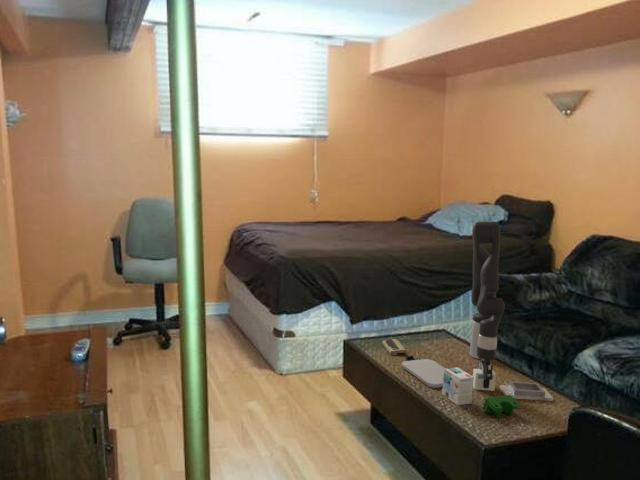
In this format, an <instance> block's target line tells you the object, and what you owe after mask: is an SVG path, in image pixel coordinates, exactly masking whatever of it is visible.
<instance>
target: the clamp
mask: <svg viewBox="0 0 640 480" xmlns="http://www.w3.org/2000/svg"><path fill="white" fill-rule="evenodd" d="M519 406H520V402H518V401H517V399H514V398H513V397H512V396H511V395H506V396H505V395H501V396H499V395H498V396H494V397H493V396H492V397H485V398H484V403H483V406H482V410H483V411H484V412H485V414H487V415H489V414H495V416H496V417H497V418H498V419H500V418H501V417H502V413H505V414H507V415H508V416H509V417H512V415H513V412H514V410H517V409H519Z"/></svg>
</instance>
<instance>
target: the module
mask: <svg viewBox="0 0 640 480" xmlns="http://www.w3.org/2000/svg"><path fill="white" fill-rule="evenodd" d="M472 376H473V377H474V381H473V389H474V390H475V391H476V390H477V391H480V390H481V391H492V392H494V391H495V387H496V378H497V374H496V372H495V371H494V369H493V370H492V380H490V382H489V388H484V387H483V381H484V374H483V373H482V369H478V368H473V370H472ZM487 376H488V374H487Z"/></svg>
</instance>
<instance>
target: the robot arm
mask: <svg viewBox="0 0 640 480" xmlns="http://www.w3.org/2000/svg"><path fill="white" fill-rule="evenodd" d="M471 233H472V235H471V236H472V249H473V250H472V251H473V254H472V289H471V299H470V300H471V304H472V305H473V306H474V307H476V310H477V312H475V313H474V314H473V315H472V325H471V335H470V336H471V337H470V345H469V346H470V347H469V356H470V357H472V358H474V359H478V360H477V369H482V373H483V374H484V381H483V387H484V388H489V382H490V380H492V370H493V371H494V369H493V368H494V366H493V364H492V362H491V361H492V360H495V359H496V356H497V346H498V328H499V325H500V322H501V318H502V317H503V315H504V312H505V308H506V305H505V302H504V300H503V299H502V298H501V297H500V298H499V297H497V292H499V289H500V285H499V282H500V281H499V264H500V263H499V261H500V250H501V249H500V247H501V227H500V224H499V222H497V221H476V222H474V223H473V225H472V231H471ZM483 244H491V245H492V246H491V250H490V253H489V252H488V251H487V249H486V248H484V246H483ZM487 374H488V376H487Z"/></svg>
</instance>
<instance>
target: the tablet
mask: <svg viewBox="0 0 640 480" xmlns="http://www.w3.org/2000/svg"><path fill="white" fill-rule="evenodd" d="M401 366H402V369H404V370H405V371H406V372H408V373H409V374H411V376H413V377H415V378H416V379H417V380H419V381H420V382H422V383H423V384H425V385H426V386H427V387H430V388H434V389H435V388H443V378H444V369H447V368H445V367H444V365H441V364H439V363H438V362H436V361H434V360H432V359H429V358H427V359H426V358H423V359H415V360H414V359H413V360H405V361H402V362H401Z"/></svg>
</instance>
